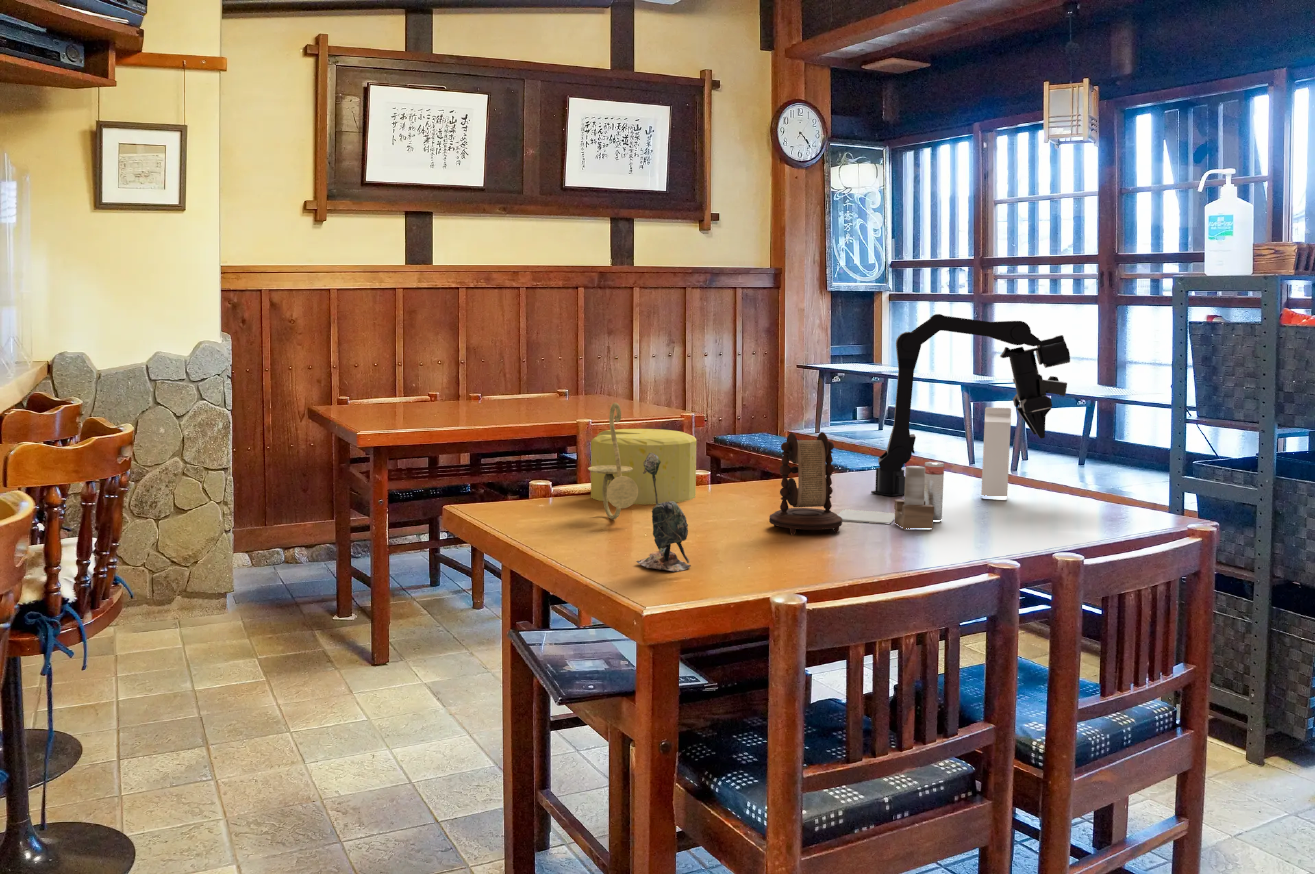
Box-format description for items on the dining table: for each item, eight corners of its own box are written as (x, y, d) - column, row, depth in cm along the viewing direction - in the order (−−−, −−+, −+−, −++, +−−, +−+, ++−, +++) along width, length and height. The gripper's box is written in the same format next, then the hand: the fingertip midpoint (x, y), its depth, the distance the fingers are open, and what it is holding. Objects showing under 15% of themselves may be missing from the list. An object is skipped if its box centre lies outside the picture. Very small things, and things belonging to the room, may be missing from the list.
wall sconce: (644, 524, 228) (645, 404, 226) (600, 526, 225) (601, 405, 222) (624, 512, 241) (625, 399, 239) (582, 514, 238) (583, 399, 236)
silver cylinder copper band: (919, 519, 238) (922, 461, 236) (938, 519, 238) (940, 462, 237) (925, 522, 234) (927, 464, 232) (944, 522, 234) (946, 464, 233)
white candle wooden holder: (893, 523, 233) (895, 464, 231) (921, 523, 233) (924, 464, 232) (904, 530, 225) (906, 470, 224) (933, 530, 225) (935, 470, 224)
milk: (981, 495, 270) (984, 406, 268) (1007, 497, 268) (1010, 407, 266) (981, 499, 264) (984, 408, 262) (1007, 501, 263) (1011, 409, 260)
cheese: (565, 493, 266) (566, 432, 265) (647, 483, 284) (647, 425, 282) (635, 508, 247) (636, 442, 245) (718, 497, 264) (719, 434, 263)
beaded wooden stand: (785, 538, 216) (787, 437, 214) (758, 524, 230) (760, 429, 228) (854, 535, 220) (857, 435, 218) (823, 521, 234) (826, 428, 232)
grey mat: (844, 511, 247) (844, 509, 246) (898, 515, 242) (898, 513, 242) (833, 520, 235) (833, 518, 235) (890, 524, 231) (890, 522, 231)
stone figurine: (659, 577, 183) (660, 458, 180) (631, 563, 193) (632, 450, 190) (702, 573, 186) (704, 456, 184) (673, 559, 196) (674, 448, 194)
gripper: (1067, 366, 251) (1081, 432, 252) (1053, 363, 269) (1066, 424, 270) (1017, 377, 253) (1032, 443, 254) (1006, 373, 272) (1020, 434, 273)
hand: (1039, 436), depth 263 cm, fingers open, 9 cm apart
